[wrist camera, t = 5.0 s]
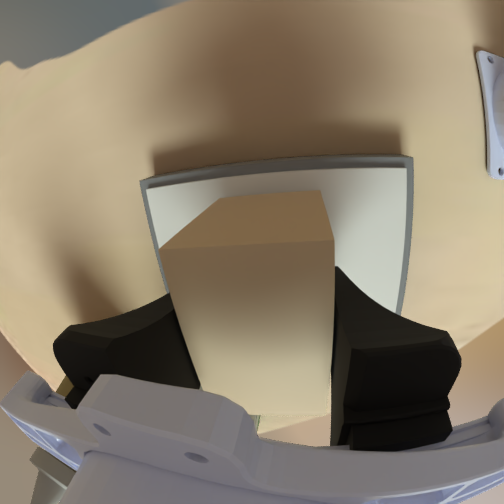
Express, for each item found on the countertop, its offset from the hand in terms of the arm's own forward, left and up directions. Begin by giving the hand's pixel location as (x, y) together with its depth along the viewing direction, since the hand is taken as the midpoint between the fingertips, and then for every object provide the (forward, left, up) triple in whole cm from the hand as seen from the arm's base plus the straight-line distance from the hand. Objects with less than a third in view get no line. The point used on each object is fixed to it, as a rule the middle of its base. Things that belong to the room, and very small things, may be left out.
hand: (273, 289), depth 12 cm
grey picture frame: (0, 0, -5) cm, 5 cm away
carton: (0, 0, -2) cm, 2 cm away
